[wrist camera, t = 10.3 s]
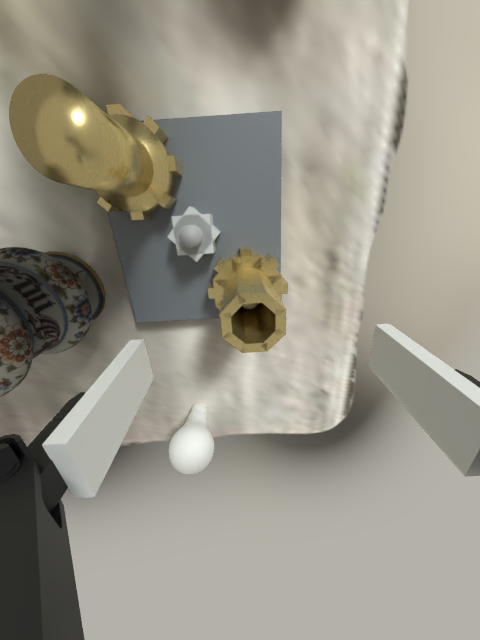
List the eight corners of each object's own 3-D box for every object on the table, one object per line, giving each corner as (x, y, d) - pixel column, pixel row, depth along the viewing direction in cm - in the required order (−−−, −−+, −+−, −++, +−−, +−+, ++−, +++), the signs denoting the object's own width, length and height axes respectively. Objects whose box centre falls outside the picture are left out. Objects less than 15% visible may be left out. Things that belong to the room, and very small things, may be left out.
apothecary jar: (8, 235, 28) (-313, 257, 12) (110, 250, 29) (-54, 289, 13) (28, 325, 33) (-180, 432, 16) (116, 335, 34) (2, 446, 17)
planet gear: (206, 249, 27) (186, 269, 16) (283, 244, 27) (315, 261, 16) (214, 320, 31) (202, 375, 20) (282, 315, 31) (308, 369, 20)
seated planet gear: (81, 121, 22) (-68, 26, 11) (174, 114, 22) (114, 12, 11) (107, 222, 26) (13, 224, 15) (188, 217, 26) (153, 214, 15)
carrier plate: (96, 132, 24) (25, 87, 16) (278, 119, 24) (299, 67, 16) (142, 317, 33) (110, 349, 25) (277, 308, 33) (291, 338, 24)
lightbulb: (206, 424, 41) (196, 491, 31) (175, 409, 39) (154, 475, 29) (225, 401, 39) (221, 464, 29) (193, 385, 38) (177, 446, 27)
